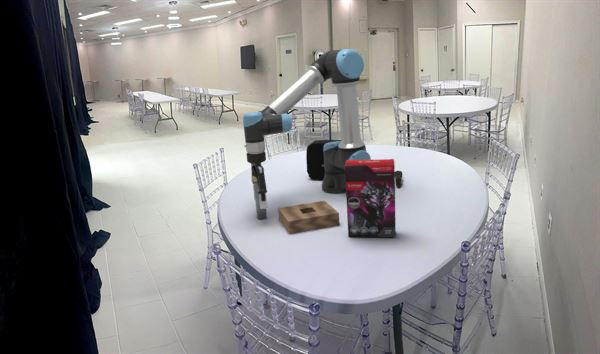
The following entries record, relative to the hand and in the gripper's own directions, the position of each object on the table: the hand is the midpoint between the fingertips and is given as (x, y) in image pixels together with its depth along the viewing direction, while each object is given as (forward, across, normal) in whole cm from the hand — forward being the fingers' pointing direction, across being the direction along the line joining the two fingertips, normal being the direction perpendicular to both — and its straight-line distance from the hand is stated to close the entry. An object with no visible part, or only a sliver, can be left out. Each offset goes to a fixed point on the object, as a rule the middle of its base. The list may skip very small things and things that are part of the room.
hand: (260, 203), depth 180 cm
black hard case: (+6, -39, +49) cm, 63 cm away
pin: (+6, 0, 0) cm, 6 cm away
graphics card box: (+6, +34, +33) cm, 48 cm away
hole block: (+6, +13, +16) cm, 22 cm away
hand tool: (+7, -17, +73) cm, 75 cm away
